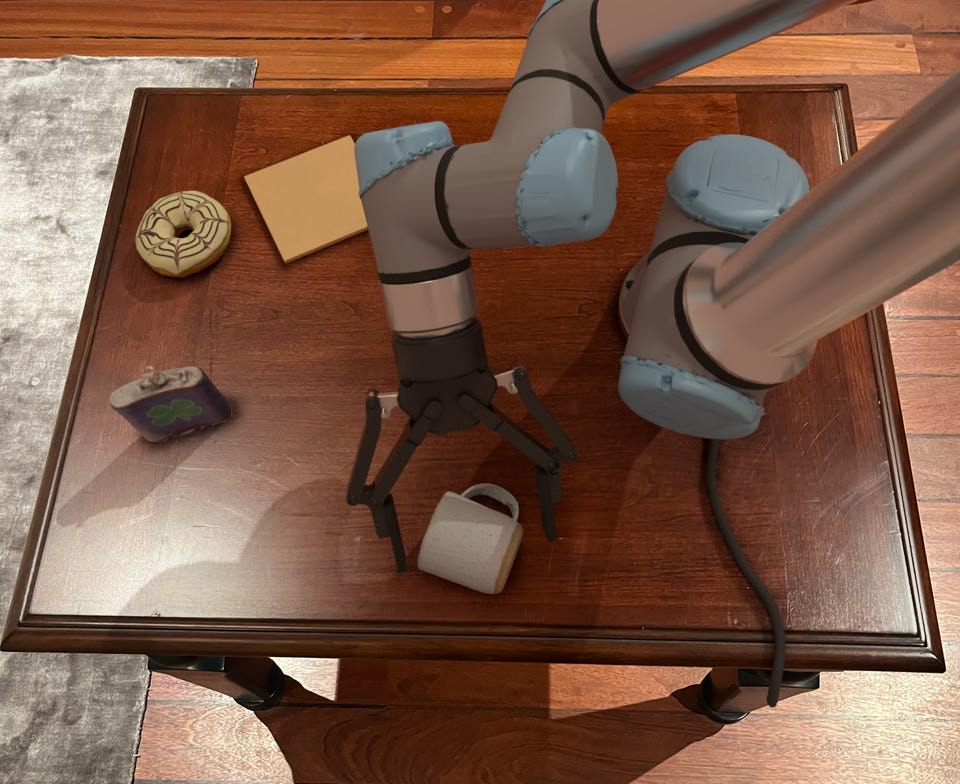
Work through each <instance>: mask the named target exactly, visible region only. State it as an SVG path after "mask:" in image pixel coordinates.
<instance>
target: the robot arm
mask: <svg viewBox="0 0 960 784" xmlns="http://www.w3.org/2000/svg"><path fill="white" fill-rule="evenodd" d="M857 1H858V0H546V1H545V2H544V4H543V5H542V8H541V10H540V11H539V14H538V15H537V16H536V19H535V21H534V23H533V24H531V27H530V29H529V32H528V36H527V39H526V42H525V43H526V44H525V47H524V49H523V52H522V56H521V58H520V61H519V64H518V66H517V69H516V72H515V75H514V78H513V80H512V83H511V86H510V88H509V91H508V94H507V97H506V99H505V102H504V104H503V106H502V109H501V111H500V114H499V117H498V119H497V121H496V124H495V127H494V129H493V132H492V135H491V137H490V139H488V140H487V141H481V142H474V143H468V144H462V145H455V142H454V140H453V138H452V133H451V131H450V128H449V126H448V125H447V124H446V123H445V122H444V121H441V120H436V121H430V122H423V123H417V124H410V125H404V126H398V127H393V128H386V129H381V130H376V131H371V132H365V133H363V134H362V135H360V136H359V137H358V138H357V140H356V141H355V147H354V154H355V161H356V168H357V175H358V182H359V198H360V199H361V202H362V206H363V210H364V214H365V218H366V222H367V226H368V230H367V231H368V234H369V238H370V241H371V246H372V250H373V254H374V259H375V264H376V268H377V269H376V272H377V277H378V286H379V291H380V294H381V300H382V305H383V309H384V313H385V319H386V324H387V326H388V329H390V330H392V331H394V332H393V333H392V335H391V337H390V343H391V348H392V353H393V358H394V362H395V368H396V372H397V377H398V382H399V384H398V388H397V390H396V391H385V392H379V390H377V389H375V388H370V389H367V390H366V393H365V401H364V402H365V403H364V406H365V408H364V409H365V417H366V419H365V422H364V426H363V429H362V432H361V436H360V440H359V443H358V447H357V450H356V454H355V457H354V461H353V464H352V468H351V472H350V475H349V479H348V482H347V485H346V487H347V488H346V494H345V495H346V497H345V501H346V503H347V505H349V506H351V507H356V506H358V505H363V506H366V507H367V508H369V509H370V512H371V516H372V521H373V525H374V530H375V533H376V536H377V537H378V539H379V540H382V539H388V538H389V539H390V543H391V547H392V551H393V556H394V560H395V564H396V565H395V566H396V568H397V573H398V574H403V573H404V574H405V573H407V555H406V551H405V546H404V542H403V537H402V533H401V528H400V524H399V519H398V513H397V509H396V505H395V501H394V496H393V493H392V492H391V491H392V489H393V488H394V486H395V484H396V483H397V481H398V479H400V476H401V475H402V473H403V471H404V470H405V468H406V467H407V465H408V463H409V462H410V460H411V459H412V457H413V455H414V453H415V452H416V450H417V448H418V447H420V446H421V444H423V441H424V440H425V438H426V436H427V435H428V433H429V434H433V435H436V437H441V436H446V435H448V434H450V433H452V432H455V431H456V432H457V431H458V432H466V431H467V432H468V431H470V430H471V431H472V430H474V427H476V426H477V425H478V424H479V423H480V424H481V423H482V424H483V425H484V426H486V427H487V428H488V429H489V430H491V431H492V432H495V433H497V434H498V435H499V436H501V438H503V439H504V440H506V441H507V442H508V443H509V444H510V445H513V447H515V448H516V449H517V450H519V451H520V452H522V453H523V455H525V456H526V457H528V458H529V459H530V460H532V461H533V462H534V464H533V470H534V478H535V484H536V491H537V497H538V504H539V509H540V516H541V523H542V530H543V531H544V534H545V536H546V539H547V542H548V543H553V542H558V538H557V530H556V529H557V528H556V524H555V517H554V509H553V504H558V503H562V501H563V498H564V496H563V487H562V482H561V481H562V480H561V474H562V473H561V472H562V467H563V466H564V465H566V464H567V463H574V462H576V461H578V459H579V452H578V450H577V448H576V447H575V445H574V444H573V442H572V440H571V439H570V438H569V436H568V435H567V434H566V432H565V431H564V429H563V428H562V427H561V425H560V424H559V423H558V422H557V420H556V419H555V418H554V416H553V415H552V413H551V412H550V411H549V409H548V408H547V406H545V404H544V403H543V401H542V400H541V399H540V398H539V396H538V395H537V394H536V392H535V391H534V389H533V386H532V382H531V379H530V375H529V373H528V371H527V369H526V367H525V366H524V365H523V363H522V362H521V361H518V360H516V361H513V362H511V364H510V365H509V367H508V368H504V369H501V370H498V371H494V372H493V371H492V369H490V366H489V362H488V361H489V360H488V354H487V349H486V342H485V337H484V331H483V325H482V322H481V321H480V320H479V318H477V317H476V316H477V315H478V314H479V312H480V305H479V300H478V294H477V287H476V281H475V275H474V269H473V264H472V259H471V251H470V250H483V249H506V248H524V247H525V248H527V247H528V248H529V247H539V248H550V247H555V246H558V245H559V244H567V243H574V242H575V243H576V242H583V241H591V240H594V239H596V238H599V237H600V236H601V235H602V234H604V233H605V232H606V231H607V229H608V228H609V226H610V224H611V222H612V221H613V218H614V216H615V212H616V209H617V204H618V200H617V188H618V187H619V178H618V167H617V163H616V160H615V155H614V153H613V151H612V147H611V145H610V143H609V141H608V140H607V139H606V137H605V136H604V135H603V134H602V131H603V127H604V126H605V125H604V124H605V121H606V117H607V115H608V112H609V109H610V107H611V106H612V105H614V104H615V103H617V102H620V101H622V100H624V99H628V98H630V97H632V96H634V95H636V94H638V93H640V92H643V91H645V90H648V89H650V88H653V87H654V86H657V85H659V84H662V83H664V82H666V81H669V80H671V79H674V78H676V77H678V76H681V75H684V74H686V73H687V72H690V71H693V70H696V69H697V68H699V67H702V66H705V65H707V64H709V63H712V62H714V61H716V60H719V59H722V58H723V57H726V56H728V55H731V54H733V53H736V52H739V51H740V50H743V49H745V48H747V47H750V46H752V45H754V44H757V43H759V42H761V41H764V40H767V39H769V38H771V37H773V36H777V35H779V34H781V33H783V32H785V31H788V30H790V29H793V28H795V27H798V26H800V25H802V24H805V23H807V22H809V21H812V20H814V19H816V18H820V17H822V16H824V15H826V14H828V13H831V12H833V11H835V10H838V9H840V8H842V7H845V6H848V5H850V4H852V3H855V2H857ZM959 261H960V67H958V68H957V69H956V70H955V71H954V72H952V73H951V74H950V75H948V77H946V78H945V79H944V80H942V81H941V82H940V83H939V84H938V85H936V86H935V87H934V88H933V89H932V90H930V91H929V92H928V93H927V94H926V95H924V96H923V97H922V98H921V99H919V100H918V101H917V102H916V103H914V104H913V105H912V106H911V107H910V108H909V109H907V110H906V111H905V112H904V113H902V114H901V115H900V116H899V117H898V118H896V119H895V120H894V121H893V122H892V123H891V124H889V125H887V127H885V128H884V129H883V130H881V132H879V133H878V134H876V136H875V137H874V138H872V139H871V140H870V141H868V142H867V143H866V144H864V145H863V146H862V147H861V148H860V149H858V150H857V151H856V152H855V153H854V154H852V155H851V156H850V157H848V159H847V160H845V161H844V162H843V163H842V164H841V165H839V166H838V167H836V168H835V169H833V171H832V172H831V173H829V174H828V175H827V176H826V177H824V178H823V179H822V180H820V181H819V182H818V183H817V184H816V185H815V186H813V188H811V189H810V184H809V181H808V178H807V175H806V172H805V171H804V168H802V166H801V165H800V164H799V163H798V162H797V160H796V159H794V158H792V157H791V156H789V155H788V154H787V152H786V151H785V150H784V149H783V148H781V147H779V146H777V145H776V144H774V143H772V142H769V141H767V140H764V139H762V138H758V137H754V136H750V135H746V134H745V135H744V134H734V133H733V134H731V133H730V134H718V135H713V136H709V137H708V138H706V139H705V140H698V141H695V142H694V143H691V145H689V146H688V147H686V148H685V149H684V150H683V151H681V153H680V154H679V155H678V156H677V158H676V160H675V162H674V163H673V167H672V169H671V170H670V172H668V175H667V177H666V181H665V193H664V196H663V199H662V204H661V208H660V211H659V215H658V218H657V221H656V225H655V228H654V232H653V236H652V240H651V243H650V248H649V250H648V251H645V252H644V254H643V256H642V258H641V259H640V260H639V261H638V262H637V263H635V265H634V266H633V267H632V268H631V269H630V271H629V272H628V273H627V275H626V277H625V278H624V281H623V283H622V286H621V289H620V293H619V297H618V304H617V315H618V316H617V317H618V322H619V325H620V328H621V332H622V333H623V335H624V337H625V339H626V341H627V342H626V345H625V349H624V353H623V355H622V356H621V357H620V361H619V364H620V365H621V367H620V371H619V378H618V381H617V382H618V383H617V390H618V394H619V397H620V398H621V400H622V401H623V402H624V404H625V405H627V407H628V409H630V410H631V411H632V412H633V413H635V414H636V415H638V416H639V417H641V418H642V419H643V420H646V421H648V422H650V423H652V424H654V425H657V426H658V427H661V428H663V429H666V430H670V431H672V432H676V433H680V434H682V435H687V436H691V437H698V438H702V439H709V443H708V452H707V459H706V467H705V468H706V470H705V471H706V472H705V474H706V475H705V477H706V487H707V494H708V498H709V501H710V505H711V509H712V512H713V514H714V518H715V520H716V522H717V524H718V527H719V529H720V532H721V533H722V536H723V538H724V540H725V542H726V544H727V546H728V548H729V550H730V552H731V554H732V556H733V558H734V560H735V563H736V564H737V565H738V567H739V569H740V571H741V572H742V573H743V575H744V576H745V578H746V579H747V580H748V582H749V583H750V585H751V586H752V587H753V590H755V592H756V593H757V594H758V596H759V597H760V599H761V600H762V602H763V604H764V606H765V608H766V610H767V612H768V615H769V617H770V621H771V624H772V628H773V635H774V655H773V664H772V669H771V672H770V673H771V674H770V680H769V684H768V689H767V695H766V704H767V705H768V707H769V708H776V707H777V705H778V701H779V697H780V690H781V685H782V680H783V675H784V669H785V662H786V652H787V651H786V650H787V649H786V646H787V645H786V633H785V628H784V623H783V620H782V615H781V612H780V610H779V608H778V606H777V603H776V601H775V600H774V598H773V596H772V594H771V593H770V592H769V590H768V589H767V587H766V586H765V584H764V583H763V582H762V580H761V579H760V577H759V576H758V575H757V574H756V572H755V571H754V569H753V568H752V567H751V564H750V563H749V562H748V560H747V558H746V556H745V555H744V553H743V551H742V549H741V547H740V545H739V543H738V541H737V538H736V536H735V535H734V532H733V530H732V528H731V526H730V524H729V522H728V520H727V517H726V514H725V513H724V512H725V511H724V510H723V506H722V503H721V499H720V495H719V492H718V491H719V490H718V486H717V461H718V456H719V455H718V454H719V448H720V447H719V446H720V440H735V439H740V438H743V437H747V436H749V435H752V434H753V433H754V432H755V431H756V430H757V429H758V427H759V426H760V421H761V418H762V417H763V416H764V415H765V407H764V400H765V397H766V395H767V393H768V392H769V391H770V390H772V389H774V388H775V387H778V386H780V385H781V384H783V383H786V382H788V381H790V380H791V379H793V378H794V377H796V376H797V375H798V374H800V373H801V372H802V371H803V370H805V368H806V367H807V366H808V364H809V363H810V362H811V360H812V359H813V357H814V355H815V351H816V349H817V344H818V341H819V340H821V339H822V338H825V337H826V336H828V335H829V334H831V333H834V332H835V331H837V330H838V329H840V328H842V327H844V326H846V325H847V324H849V323H850V322H853V321H855V320H856V319H858V318H860V317H862V316H863V315H865V314H867V313H869V312H870V311H872V310H874V309H875V308H878V307H879V306H881V305H883V304H884V303H886V302H889V301H890V300H891V299H893V298H895V297H897V296H898V295H901V294H902V293H904V292H906V291H908V290H909V289H912V288H913V287H915V286H916V285H918V284H920V283H922V282H924V281H925V280H928V279H929V278H931V277H933V276H935V275H936V274H937V273H940V272H941V271H943V270H945V269H947V268H948V267H950V266H953V265H954V264H955V263H957V262H959ZM499 387H503V388H505V389H506V391H507V392H508V393H509V394H511V395H517V394H518V396H519V398H520V400H521V403H523V405H524V406H525V407H526V409H527V410H528V411H529V413H530V414H531V415H532V417H533V418H534V419H535V421H536V422H537V423H538V426H540V427H541V429H542V430H543V431H544V433H545V434H546V435H547V437H548V438H549V439H550V441H551V442H552V443H553V445H554V447H553V448H551V449H550V448H548V447H547V446H546V445H545V444H544V443H543V442H541V441H540V440H538V439H537V438H536V437H534V436H533V435H532V434H530V433H529V432H528V431H526V430H525V429H524V428H523V427H522V426H520V425H519V424H518V423H516V421H514V420H513V419H511V418H510V417H508V415H506V414H505V413H503V411H502V410H500V409H499V408H498V407H497V406H496V405H495V404H494V403H492V400H493V398H494V396H495V395H496V393H497V390H498V388H499ZM395 407H399V409H400V410H402V411H403V412H404V414H406V415H407V416H408V417H409V418H408V420H407V421H406V424H405V426H404V428H403V431H402V433H401V434H400V436H399V437H398V439H397V441H396V443H395V444H394V446H393V447H392V449H391V450H390V452H389V454H388V456H387V457H386V459H385V461H384V462H383V463H382V466H381V468H380V469H379V470H378V472H377V473H376V476H375V477H374V479H373V480H372V482H371V483H369V484H366V483H367V479H368V475H369V472H370V469H371V466H372V461H373V458H374V455H375V451H376V448H377V444H378V441H379V438H380V434H381V431H382V421H383V420H387V419H389V418H390V417H391V414H392V411H393V409H394V408H395Z"/></svg>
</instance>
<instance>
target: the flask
mask: <svg viewBox="0 0 960 784" xmlns="http://www.w3.org/2000/svg"><path fill="white" fill-rule="evenodd" d="M154 369H155V367H153V366H152V365H146V366H145V368H144V369H141V370H140V373H143V372H144V370H145V371H146V372H144V373H143V374H142V377H140V378H137V379H135V380H133V381H131V382H128V383H126V384H123V385H121V386H120V387H117V388H116V389H114V390H113V391H112V392H111V394H110V395H109V399H108V403H109V405H110V407H111V409H112V410H114V411H115V412H116V413H118V414H119V415H120V416H121V417H122V418H123V419H125V420H126V421H127V422H128V423H129V424H130V426H132V427H133V428H134V429H135V430H136V431H137V432H138V433H139V434H140V435H141V436H142V437H143V438H144V439H145V440H146V441H148V442H149V443H163V442H166V441H167V442H168V441H169V439H171V438H175V437H179V436H184V435H185V436H186V435H188V434H191V433H193V432H194V431H195V430H196V429H199V428H200V429H204V428H205V427H207V426H214V425H219V424H222V423H226V422H227V421H228V420H229V419H230V418H231V416H233V415H234V414H233V409H232V406H231V404H230V403H229V401H228V400H227V398H226V397H225V396H224V395H223V394H222V393H221V391H220V390H219V389H218V388H217V387H216V385H215V384H214V383H213V381H212V380H211V379H210V378H209V376H208V375H207V373H206V372H204V370H203V369H202V368H201V367H198V366H195V365H190V366H185V367H184V366H183V367H176V368H169V369H165V370H160V371H159V370H158V371H156V372H154Z"/></svg>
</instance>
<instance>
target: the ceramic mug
mask: <svg viewBox="0 0 960 784" xmlns="http://www.w3.org/2000/svg"><path fill="white" fill-rule="evenodd" d="M475 496H487V497H489V498H492V499H494V500H496V501H498V502H500V503H501V504H502V505H504V506H507V507H508V508H509V510H510V512H511V515H512V517H510V516H509V515H507V514H504V513H502V512H500V511H497V510H494V509H492V508H489V507H487V506H484V505H482V504H481V503H478V502H476V501H473V500H471V498H473V497H475ZM519 515H520V507H519V503H518V501H517V500H516V498H515V496H513V494H511V492H509V491H508V490H506V489H505V488H503V487H501V486H498V485H496V484H492V483H486V482H485V483H478V484H474V485H472V486H470V487H469V488H466V490H464V491H463V492H462V493H461V494H458V493H456V492H452V491H449V490H448V491H446V492H445V493H444V494H443V496H442V497H441V499H440V500H439V502H438V504H437V505H436V507H435V509H434V512H433V514H432V516H431V519H430V521H429V523H428V526H427V528H426V531H425V533H424V536H423V539H422V542H421V545H420V550H419V553H418V557H417V568H418V569H419V570H420V571H422V572H425V573H428V574H431V575H434V576H435V577H436V576H437V577H439V578H442V579H444V580H447V581H450V582H452V583H455V584H459V585H461V586H463V587H467V588H469V589H471V590H474V591H477V592H480V593H484V594H489V595H497V594H500V593H502V591H503V590H504V587H505V586H506V583H507V580H508V578H509V575H510V572H511V570H512V568H513V565H514V561H515V559H516V556H517V553H518V551H519V548H520V544H521V542H522V538H523V536H524V528H523V526H522V524H521V523H520V522H518V519H519Z"/></svg>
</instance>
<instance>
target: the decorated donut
mask: <svg viewBox="0 0 960 784" xmlns="http://www.w3.org/2000/svg"><path fill="white" fill-rule="evenodd" d="M230 217H231V216H230V215H229V213H228V211H227V210H226V208H224V206H223V205H222V204H221V203H220V202H219V201H217V200H216V199H215V198H212V197H211V196H209V195H208V194H206V193H204V192H202V191H198V190H187V191H185V190H182V191H179V192H175V193H172V194H169V195H167V196H166V195H165V196H164V197H160V198H158V199H157V200H156V201H155V202H154V203H153V204H152V206H151V207H149V208H148V209H147V210H146V211H145V212H144V214H143V217H142V219H141V221H140V222H139V225H138V226H137V230H136V233H135V247H136V250H137V252H138V254H139V255H140V257H141V258H142V259H143V261H144V262H145V263H146V264H147V265H148V266H149V267H150V268H151V269H152V271H155V272H157V273H158V274H160V275H161V276H167V277H172V278H186V277H188V276H191V275H193V274H198V273H199V272H201V271H202V270H204V269H206V268H207V267H209V266H211V265H212V264H214V263H216V262H217V261H218V260H219V259H220V258H221V256H223V255H224V253H225V251H226V250H227V247H228V245H229V244H230V240H231V236H232V234H231V233H232V222H231V218H230ZM185 231H192V232H191V233H190V234H189V235H188V236H186V237H181V238H180V237H179V236H180V235H181V234H182V233H185Z"/></svg>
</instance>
